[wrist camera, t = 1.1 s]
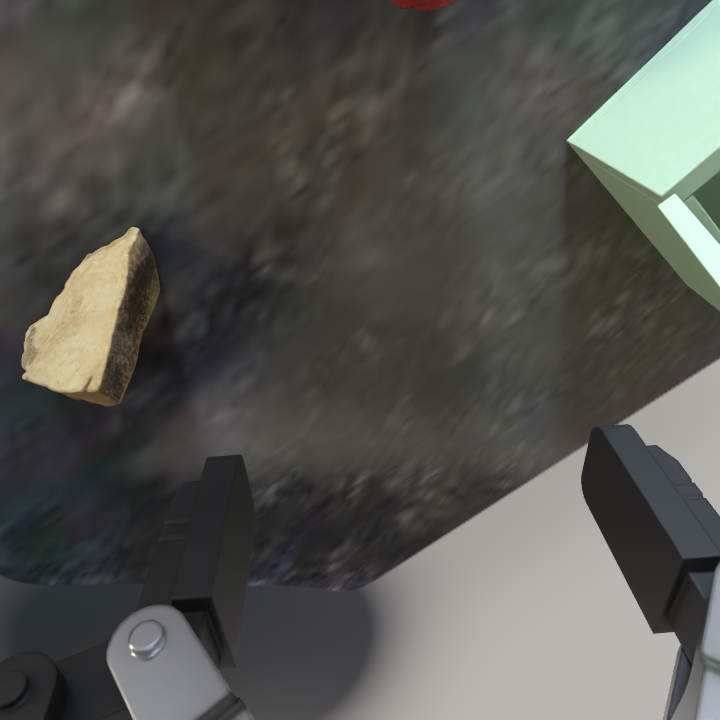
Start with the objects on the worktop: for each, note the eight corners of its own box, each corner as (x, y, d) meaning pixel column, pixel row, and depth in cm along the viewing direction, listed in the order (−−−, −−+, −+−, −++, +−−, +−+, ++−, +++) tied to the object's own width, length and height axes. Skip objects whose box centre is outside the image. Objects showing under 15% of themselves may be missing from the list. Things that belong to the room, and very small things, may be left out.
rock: (40, 408, 38) (179, 404, 37) (-72, 411, 30) (103, 406, 28) (42, 252, 39) (177, 242, 38) (-67, 212, 30) (103, 198, 29)
